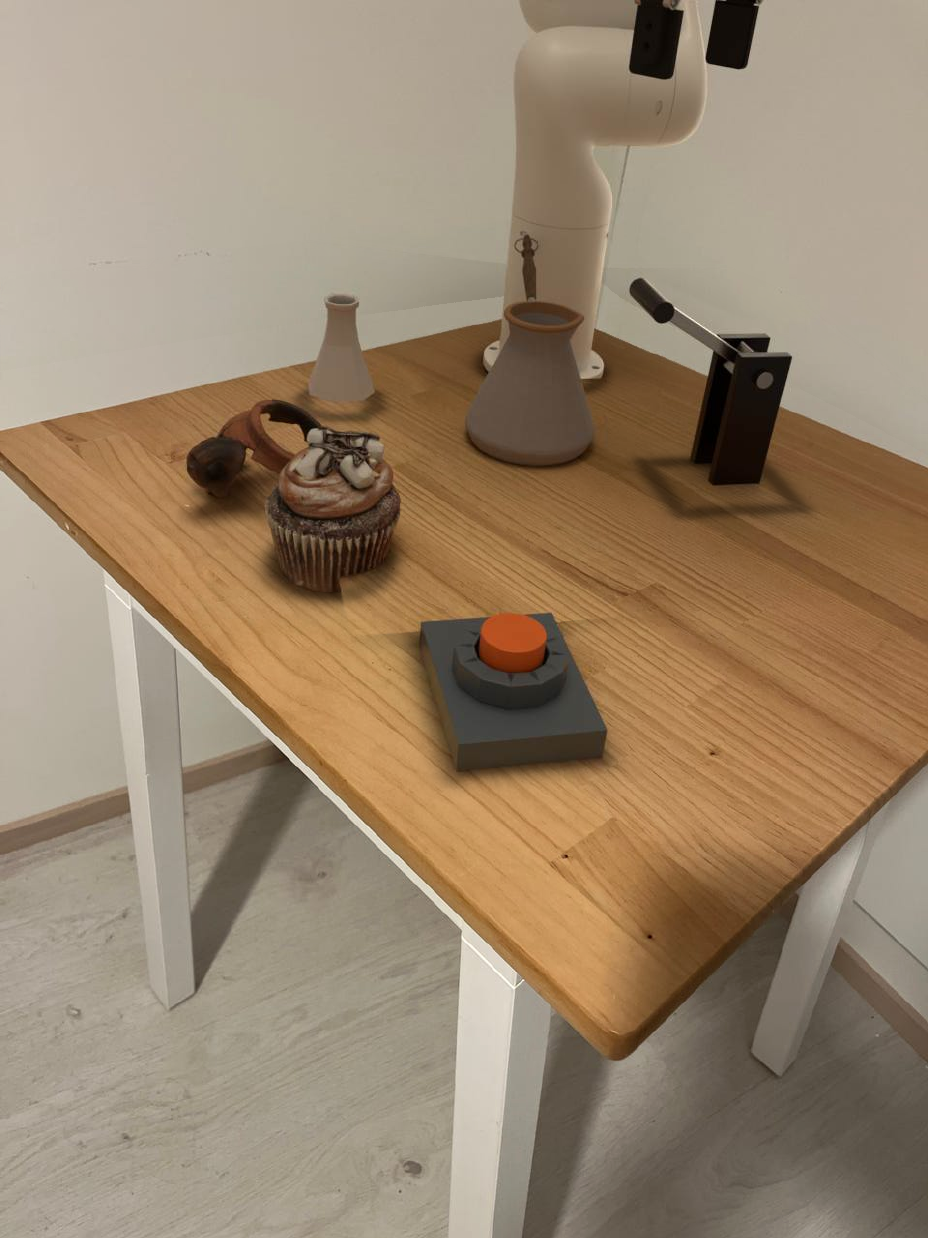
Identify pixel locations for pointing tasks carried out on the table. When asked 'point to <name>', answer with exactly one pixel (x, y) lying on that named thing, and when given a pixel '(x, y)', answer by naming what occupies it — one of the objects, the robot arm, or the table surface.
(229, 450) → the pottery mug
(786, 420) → the table surface
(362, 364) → the flask
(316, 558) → the cupcake
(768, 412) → the bracket
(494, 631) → the button
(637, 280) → the lever
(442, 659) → the button box
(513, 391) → the coffee pot
